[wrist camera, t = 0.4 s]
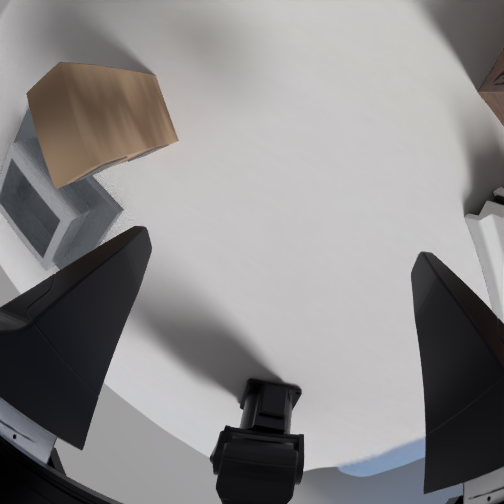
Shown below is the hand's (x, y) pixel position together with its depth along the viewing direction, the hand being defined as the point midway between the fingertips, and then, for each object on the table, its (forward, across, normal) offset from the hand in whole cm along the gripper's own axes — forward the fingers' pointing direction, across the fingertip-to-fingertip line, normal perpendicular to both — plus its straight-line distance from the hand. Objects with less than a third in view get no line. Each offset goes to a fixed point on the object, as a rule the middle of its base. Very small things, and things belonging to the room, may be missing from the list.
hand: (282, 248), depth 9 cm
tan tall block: (+14, +11, -1) cm, 18 cm away
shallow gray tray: (+13, +25, +6) cm, 28 cm away
